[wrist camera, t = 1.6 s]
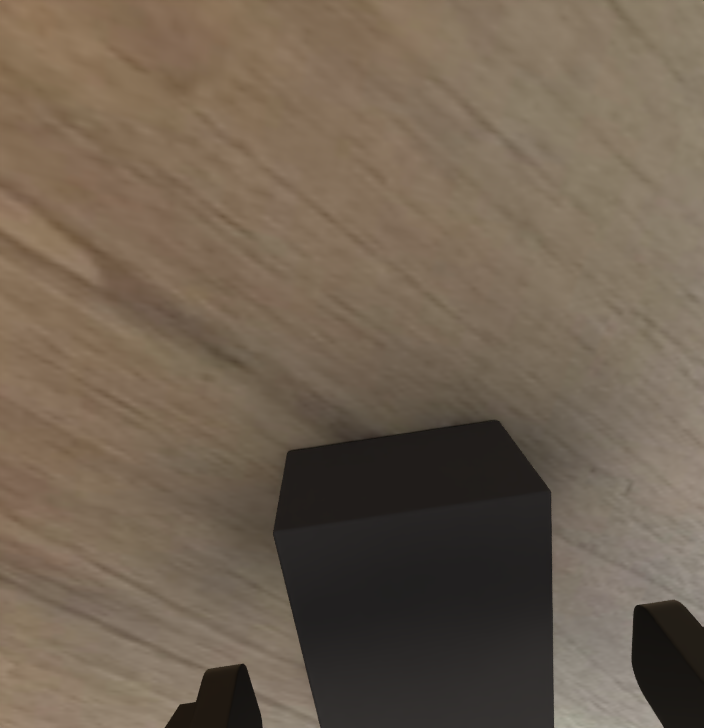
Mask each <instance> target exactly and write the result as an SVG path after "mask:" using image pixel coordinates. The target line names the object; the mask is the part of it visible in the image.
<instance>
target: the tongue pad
mask: <svg viewBox="0 0 704 728" xmlns="http://www.w3.org/2000/svg"><path fill="white" fill-rule="evenodd" d="M273 536H274V540H275V544H276V548H277V552H278V556H279V560H280V564H281V569H282V573H283V577H284V581H285V585H286V589H287V593H288V597H289V601H290V605H291V609H292V613H293V617H294V622H295V626H296V630H297V634H298V638H299V642H300V646H301V650H302V654H303V658H304V662H305V666H306V670H307V675H308V679H309V683H310V687H311V691H312V695H313V699H314V703H315V707H316V711H317V715H318V719H319V723H320V728H554V690H553V606H552V522H551V491H550V489H549V488H548V487H547V485H546V484H545V483H544V481H543V480H542V479H541V477H540V476H539V475H538V473H537V472H536V471H535V469H534V468H533V467H532V465H531V464H530V462H529V461H528V460H527V458H526V457H525V456H524V454H523V453H522V452H521V450H520V449H519V448H518V446H517V445H516V444H515V442H514V441H513V440H512V438H511V437H510V436H509V434H508V433H507V431H506V430H505V429H504V427H503V426H502V425H501V423H500V422H499V421H489V422H483V423H476V424H469V425H463V426H456V427H449V428H443V429H436V430H429V431H423V432H416V433H409V434H403V435H396V436H390V437H383V438H376V439H370V440H363V441H356V442H350V443H343V444H336V445H330V446H323V447H316V448H310V449H303V450H296V451H290V452H288V453H287V457H286V462H285V468H284V474H283V479H282V485H281V491H280V496H279V502H278V508H277V513H276V519H275V525H274V530H273Z"/></svg>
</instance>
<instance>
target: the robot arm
mask: <svg viewBox="0 0 704 728" xmlns="http://www.w3.org/2000/svg"><path fill="white" fill-rule="evenodd" d="M632 667H633V671H634V674H635V677H636V680H637V683H638V685H639V687H640V689H641V691H642V693H643V695H644V696H645V698H646V700H647V701H648V703H649V704H650V706H651V708H652V709H653V711H654V712H655V714H656V716H657V717H658V719H659V720H660V722H661V723H662V725H663V727H664V728H704V627H702V626H701V624H700V623H699V622H698V621H697V620H696V619H695V618H694V616H693V615H692V614H691V613H690V612H689V611H688V610H687V608H686V607H685V606H684V605H683V604H681V603H680V602H678V601H676V600H668V601H662V602H655V603H649V604H642V605H637V606H636V607H635V608H634V615H633V636H632ZM165 728H263V727H262V718H261V713H260V710H259V706H258V703H257V700H256V697H255V693H254V690H253V687H252V683H251V680H250V677H249V674H248V670H247V668H246V666H245V664H238V665H231V666H224V667H218V668H211V669H207V670H206V672H205V673H204V676H203V679H202V682H201V686H200V689H199V693H198V697H197V700H196V702H194V703H187V704H180V705H179V707H178V708H177V710H176V711H175V713H174V714H173V716H172V717H171V719H170V721H169V722H168V724H167V725H166V727H165Z"/></svg>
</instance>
